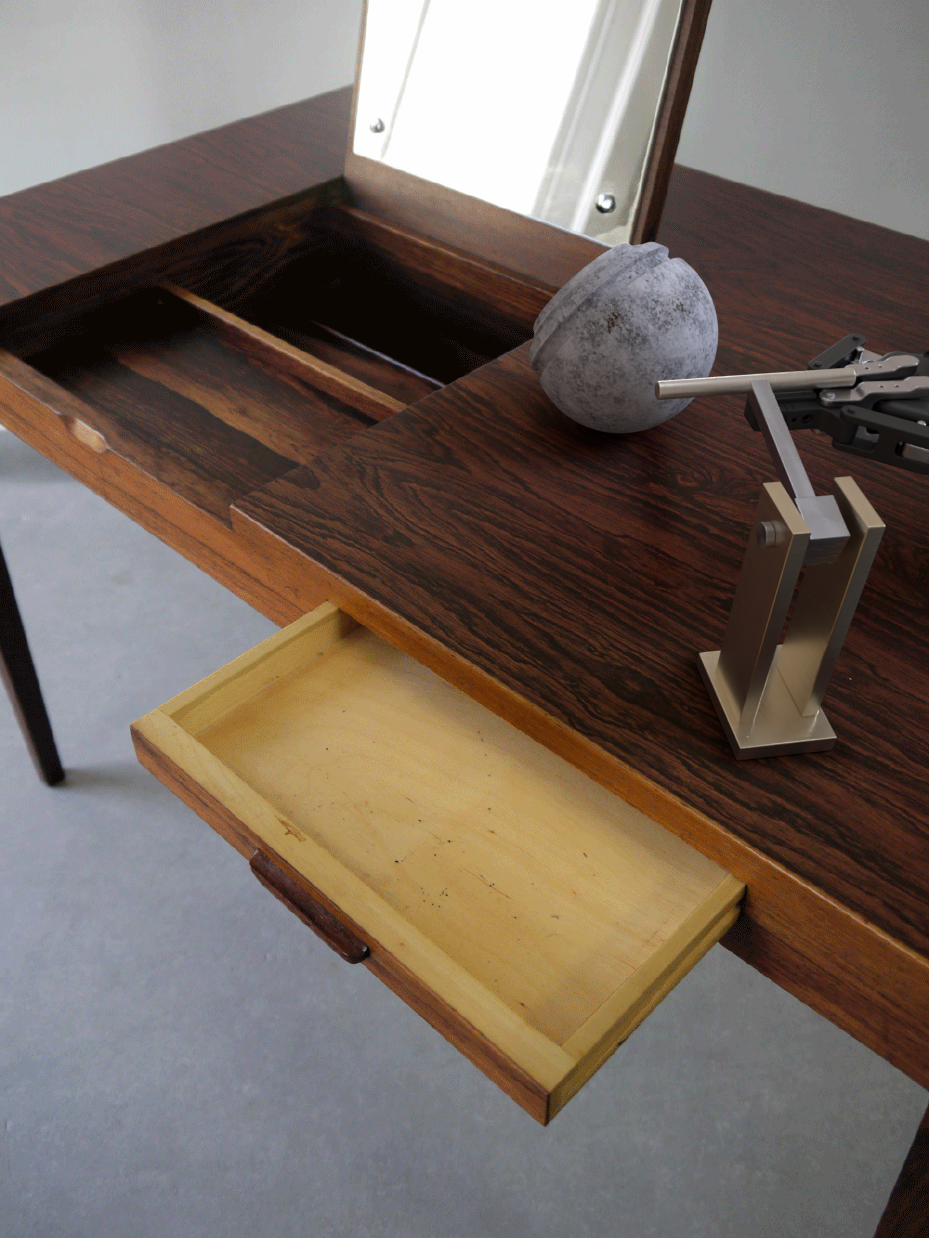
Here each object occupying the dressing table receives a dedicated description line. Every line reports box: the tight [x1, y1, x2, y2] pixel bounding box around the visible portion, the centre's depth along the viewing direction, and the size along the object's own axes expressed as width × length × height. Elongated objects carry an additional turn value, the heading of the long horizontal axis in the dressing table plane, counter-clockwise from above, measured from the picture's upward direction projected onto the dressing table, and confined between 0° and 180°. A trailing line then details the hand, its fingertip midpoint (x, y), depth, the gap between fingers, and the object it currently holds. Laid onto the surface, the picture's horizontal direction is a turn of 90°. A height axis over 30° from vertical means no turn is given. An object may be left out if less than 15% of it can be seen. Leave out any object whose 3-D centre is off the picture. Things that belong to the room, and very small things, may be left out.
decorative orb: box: [528, 241, 719, 434], centre depth 84 cm, size 15×14×15 cm
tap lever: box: [655, 368, 856, 567], centre depth 59 cm, size 13×12×2 cm
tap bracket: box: [695, 475, 886, 762], centre depth 60 cm, size 8×6×16 cm
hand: (750, 410), depth 63 cm, fingers closed
